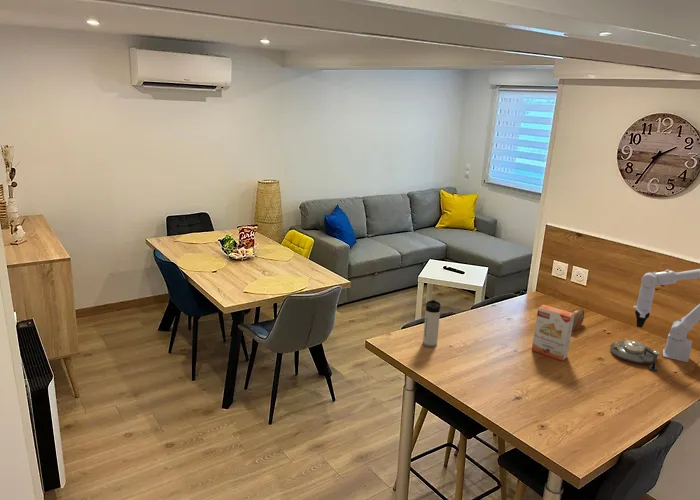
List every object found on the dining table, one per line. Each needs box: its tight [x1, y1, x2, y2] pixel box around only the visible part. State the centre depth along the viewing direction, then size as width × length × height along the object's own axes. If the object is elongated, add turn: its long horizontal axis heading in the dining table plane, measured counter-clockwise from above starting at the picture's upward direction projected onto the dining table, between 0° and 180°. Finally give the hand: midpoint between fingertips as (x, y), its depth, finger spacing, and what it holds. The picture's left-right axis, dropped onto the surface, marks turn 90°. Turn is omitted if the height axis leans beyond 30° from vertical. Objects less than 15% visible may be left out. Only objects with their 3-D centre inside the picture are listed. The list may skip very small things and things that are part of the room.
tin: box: [571, 308, 585, 331], centre depth 258 cm, size 15×3×8 cm, turn 136°
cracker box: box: [531, 304, 575, 362], centre depth 228 cm, size 14×6×21 cm, turn 49°
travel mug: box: [422, 299, 441, 348], centre depth 233 cm, size 6×7×20 cm
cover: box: [623, 339, 646, 355], centre depth 231 cm, size 8×8×4 cm
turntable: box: [609, 340, 654, 364], centre depth 231 cm, size 18×18×4 cm
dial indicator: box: [644, 348, 661, 372], centre depth 222 cm, size 6×6×8 cm
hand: (639, 326), depth 239 cm, fingers closed
